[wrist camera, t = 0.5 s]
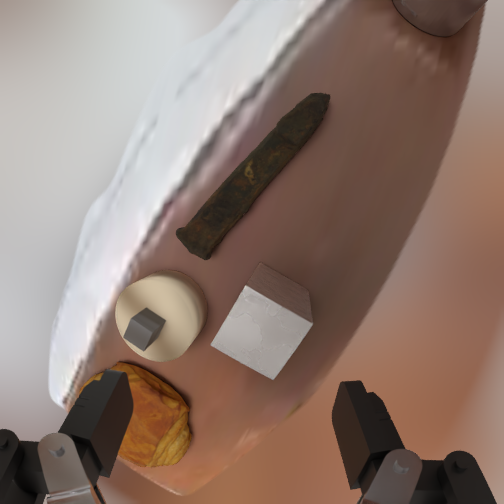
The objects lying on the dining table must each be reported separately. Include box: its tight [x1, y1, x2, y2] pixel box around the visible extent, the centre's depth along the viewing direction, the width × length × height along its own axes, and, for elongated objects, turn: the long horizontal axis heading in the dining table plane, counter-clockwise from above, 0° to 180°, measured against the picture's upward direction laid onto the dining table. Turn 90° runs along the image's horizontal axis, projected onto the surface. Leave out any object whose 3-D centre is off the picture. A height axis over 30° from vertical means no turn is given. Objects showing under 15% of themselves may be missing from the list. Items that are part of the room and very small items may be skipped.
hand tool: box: [176, 93, 330, 260], centre depth 27 cm, size 19×4×5 cm, turn 135°
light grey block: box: [211, 262, 313, 380], centre depth 26 cm, size 5×5×9 cm
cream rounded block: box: [115, 270, 208, 362], centre depth 29 cm, size 8×8×8 cm
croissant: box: [80, 362, 191, 467], centre depth 32 cm, size 14×16×8 cm
